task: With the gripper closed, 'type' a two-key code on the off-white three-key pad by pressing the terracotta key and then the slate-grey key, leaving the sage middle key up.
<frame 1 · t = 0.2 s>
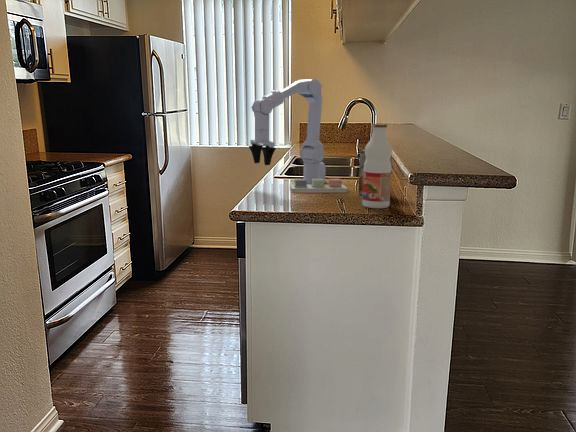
hand: (262, 164, 208), 10 cm above the table, tool pointing down, fingers open, 7 cm apart
key sage: (318, 182, 207), point 3 cm above the table, slide at 0.0 cm
key terracotta: (335, 182, 208), point 3 cm above the table, slide at 0.0 cm
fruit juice: (375, 206, 178), on the table
key slate: (300, 182, 206), point 3 cm above the table, slide at 0.0 cm
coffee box: (371, 195, 200), on the table
keypad: (317, 190, 208), on the table
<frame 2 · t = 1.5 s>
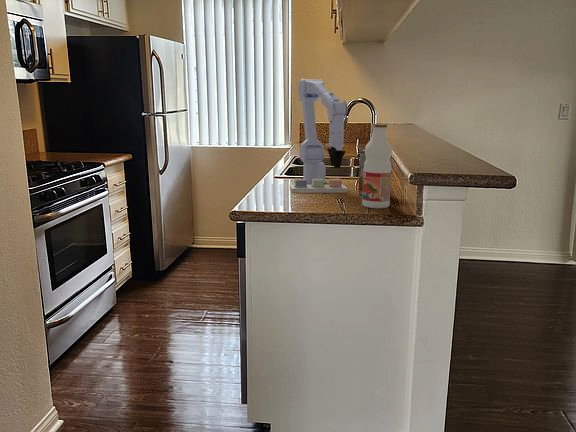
hand: (335, 167, 206), 9 cm above the table, tool pointing down, fingers open, 7 cm apart
nothing on the table moved.
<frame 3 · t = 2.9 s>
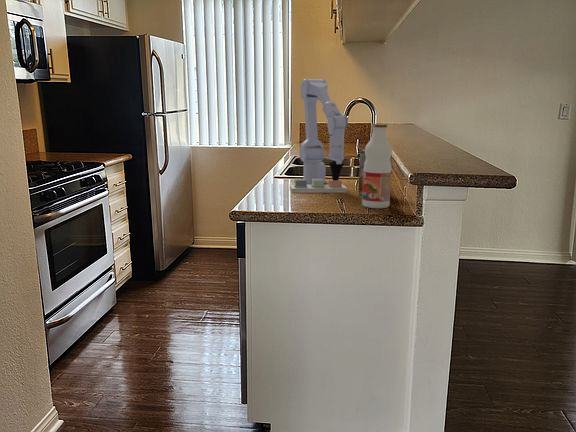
hand: (335, 180, 207), 4 cm above the table, tool pointing down, fingers closed, pressing on key terracotta
key terracotta: (335, 182, 208), point 3 cm above the table, slide at 0.2 cm, touching gripper
everything else where it was.
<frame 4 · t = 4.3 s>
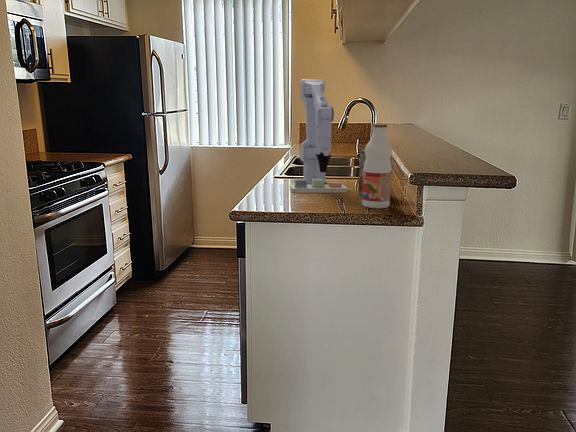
hand: (322, 172, 206), 7 cm above the table, tool pointing down, fingers closed
key terracotta: (335, 185, 208), point 2 cm above the table, slide at 1.2 cm
everything else where it was.
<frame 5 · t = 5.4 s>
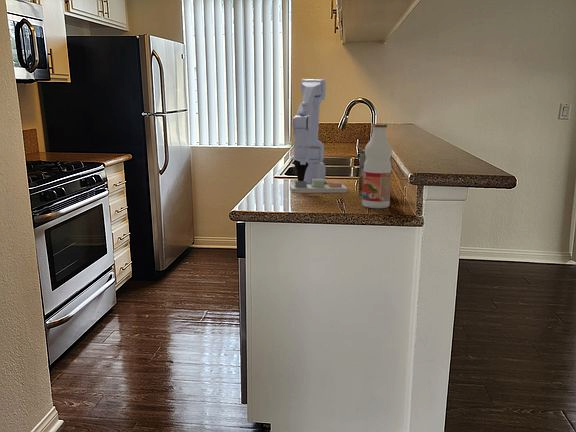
hand: (300, 180, 206), 4 cm above the table, tool pointing down, fingers closed, pressing on key slate
key slate: (300, 183, 207), point 3 cm above the table, slide at 0.4 cm, touching gripper
everything else where it was.
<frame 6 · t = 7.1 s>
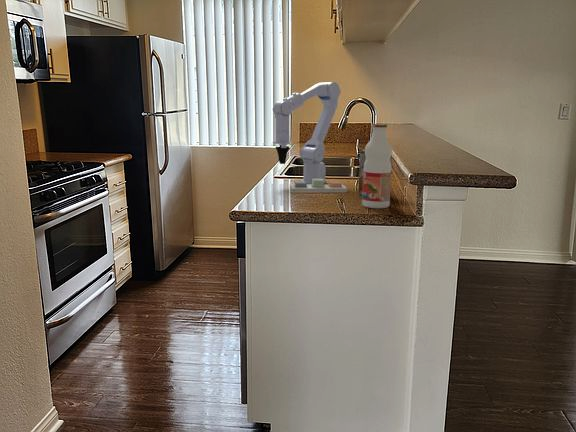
hand: (282, 163, 216), 9 cm above the table, tool pointing down, fingers closed
key slate: (300, 185, 207), point 2 cm above the table, slide at 1.2 cm
everything else where it was.
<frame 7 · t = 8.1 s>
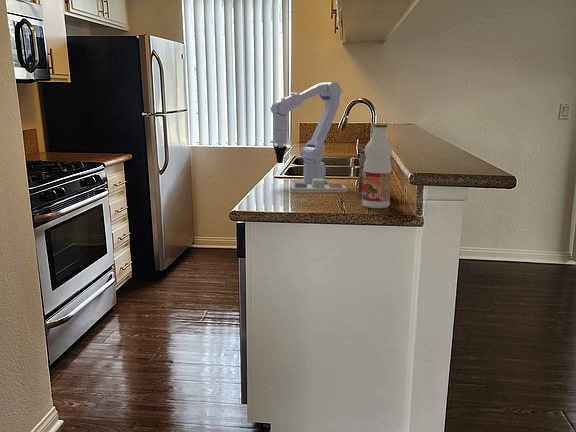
hand: (279, 163, 217), 9 cm above the table, tool pointing down, fingers closed
nothing on the table moved.
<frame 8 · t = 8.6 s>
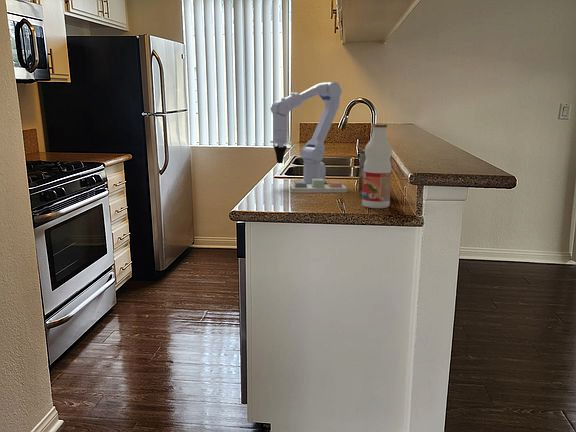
hand: (279, 163, 217), 9 cm above the table, tool pointing down, fingers closed
nothing on the table moved.
at the end: key terracotta slide at 1.2 cm; key slate slide at 1.2 cm; key sage slide at 0.0 cm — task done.
